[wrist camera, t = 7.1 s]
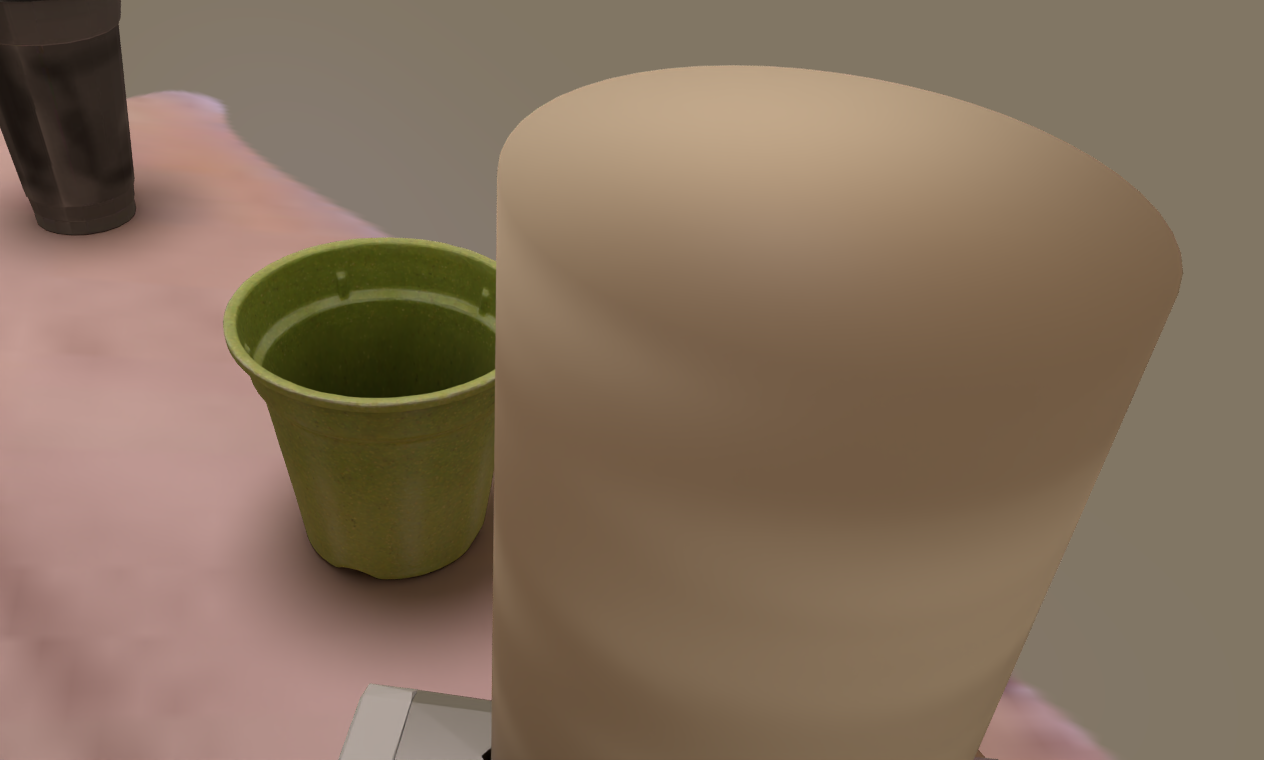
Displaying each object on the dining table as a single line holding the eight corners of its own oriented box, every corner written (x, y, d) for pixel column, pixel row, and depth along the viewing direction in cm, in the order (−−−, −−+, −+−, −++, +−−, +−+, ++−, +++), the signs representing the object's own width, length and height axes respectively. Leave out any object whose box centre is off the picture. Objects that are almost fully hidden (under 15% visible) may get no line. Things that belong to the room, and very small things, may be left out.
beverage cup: (-30, 218, 52) (-176, -259, 41) (99, 168, 57) (3, -266, 46) (71, 264, 50) (-54, -232, 38) (197, 208, 55) (121, -242, 43)
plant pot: (464, 410, 43) (462, 215, 38) (581, 561, 37) (597, 351, 32) (225, 479, 39) (187, 269, 34) (311, 663, 32) (280, 439, 27)
